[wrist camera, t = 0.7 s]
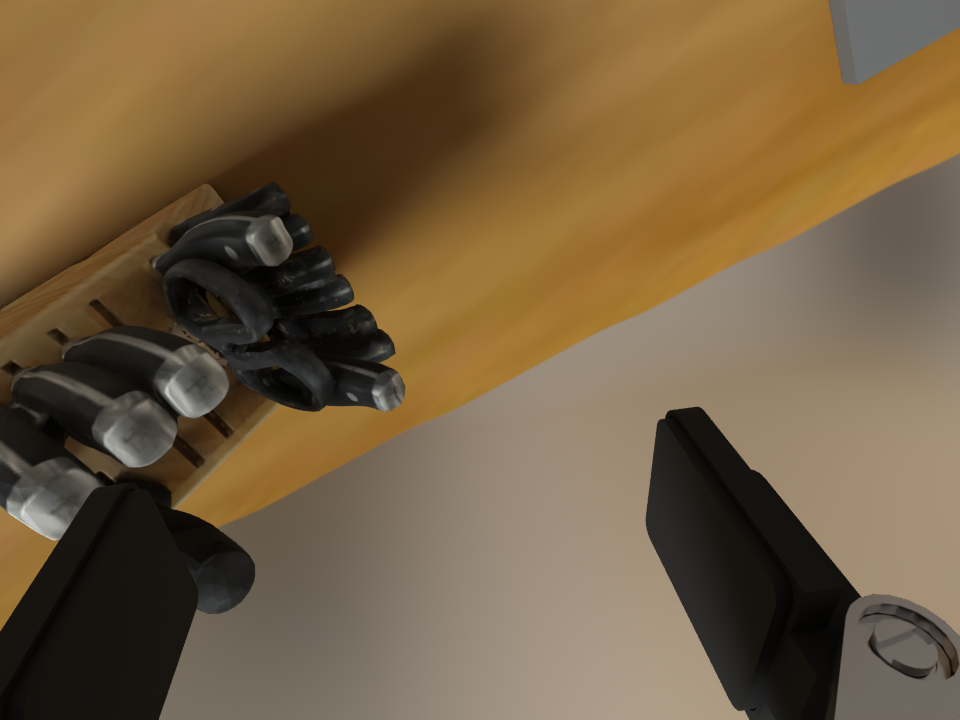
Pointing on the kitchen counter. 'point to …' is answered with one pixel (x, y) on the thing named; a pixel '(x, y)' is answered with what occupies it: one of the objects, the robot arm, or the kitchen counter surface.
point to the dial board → (887, 32)
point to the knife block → (178, 366)
